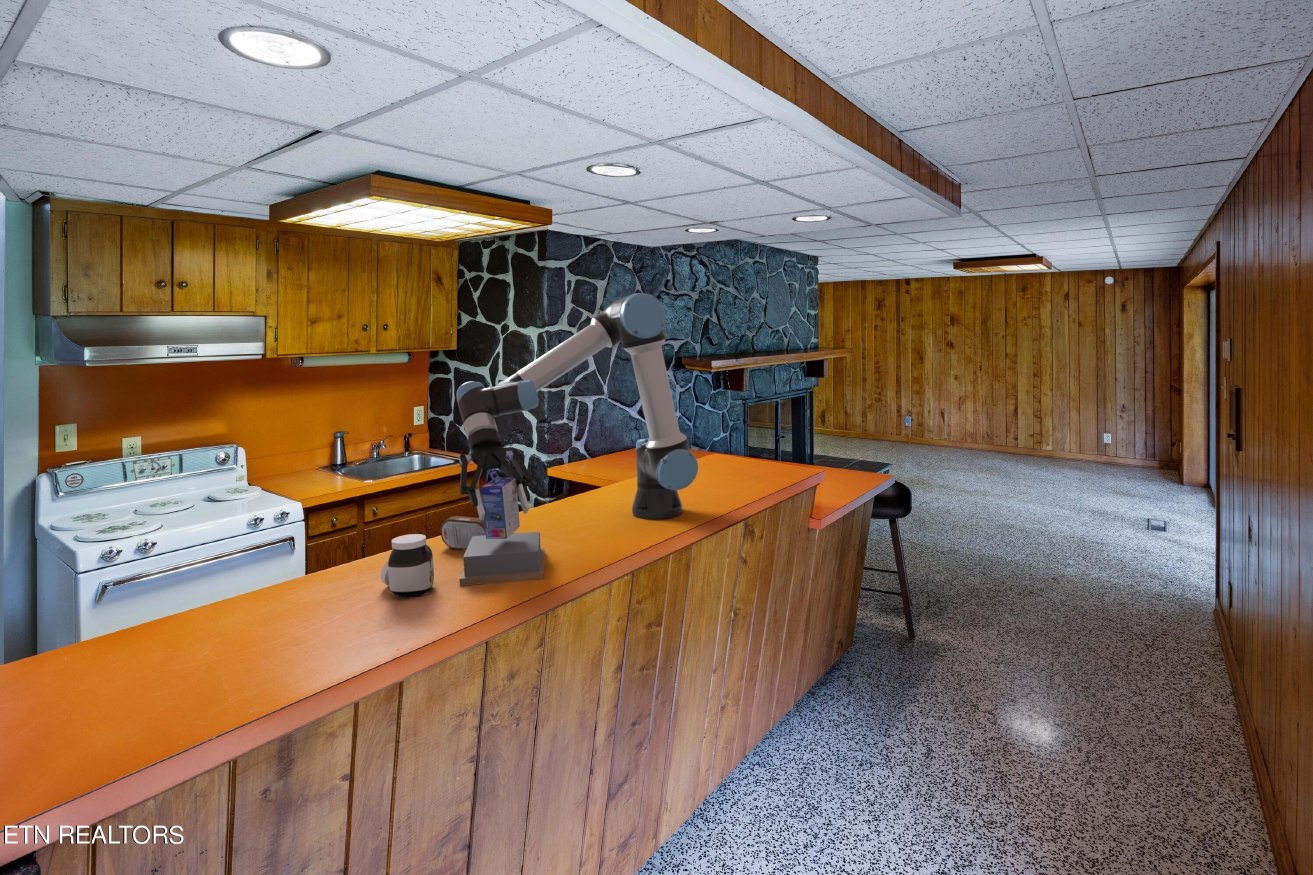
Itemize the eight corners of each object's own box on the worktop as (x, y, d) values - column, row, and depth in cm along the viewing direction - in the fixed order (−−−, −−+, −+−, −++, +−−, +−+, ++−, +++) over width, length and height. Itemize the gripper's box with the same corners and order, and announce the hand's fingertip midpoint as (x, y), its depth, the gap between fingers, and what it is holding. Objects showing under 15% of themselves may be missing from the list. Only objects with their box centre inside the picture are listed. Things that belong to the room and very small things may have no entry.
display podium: (545, 553, 163) (543, 530, 162) (543, 578, 145) (542, 552, 144) (470, 559, 160) (468, 535, 159) (459, 585, 142) (457, 558, 142)
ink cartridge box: (498, 527, 157) (494, 467, 155) (520, 527, 156) (517, 467, 154) (483, 539, 147) (479, 475, 145) (507, 539, 146) (503, 475, 144)
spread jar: (421, 600, 135) (417, 545, 133) (367, 601, 135) (362, 546, 134) (443, 579, 147) (439, 529, 145) (393, 580, 147) (388, 529, 145)
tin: (496, 549, 167) (494, 517, 166) (489, 553, 164) (487, 520, 163) (447, 545, 172) (444, 514, 171) (439, 549, 169) (437, 517, 168)
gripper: (524, 441, 167) (548, 515, 156) (434, 450, 157) (453, 530, 145) (529, 422, 162) (554, 498, 150) (437, 430, 152) (456, 511, 140)
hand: (504, 513), depth 148 cm, fingers closed on ink cartridge box, 9 cm apart
